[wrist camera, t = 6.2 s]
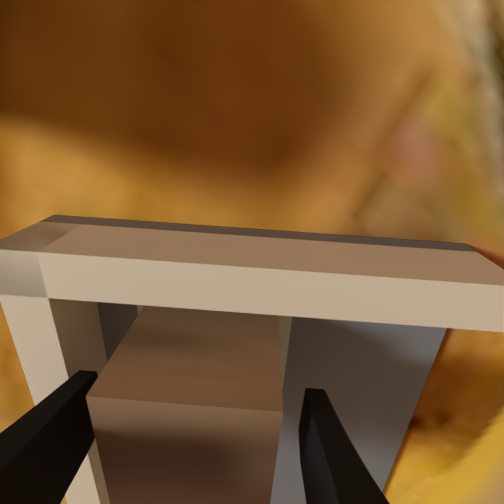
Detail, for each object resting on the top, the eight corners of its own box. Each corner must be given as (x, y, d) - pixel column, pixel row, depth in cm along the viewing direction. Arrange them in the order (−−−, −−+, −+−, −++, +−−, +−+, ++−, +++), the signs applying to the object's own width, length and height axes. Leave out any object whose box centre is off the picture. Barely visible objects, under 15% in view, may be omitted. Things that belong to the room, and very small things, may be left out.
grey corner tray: (365, 508, 19) (384, 581, 16) (112, 487, 19) (84, 555, 16) (463, 243, 12) (531, 287, 9) (53, 215, 12) (-18, 247, 9)
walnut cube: (267, 391, 14) (267, 521, 10) (160, 383, 14) (111, 508, 10) (277, 301, 12) (283, 412, 8) (152, 292, 12) (85, 396, 8)
